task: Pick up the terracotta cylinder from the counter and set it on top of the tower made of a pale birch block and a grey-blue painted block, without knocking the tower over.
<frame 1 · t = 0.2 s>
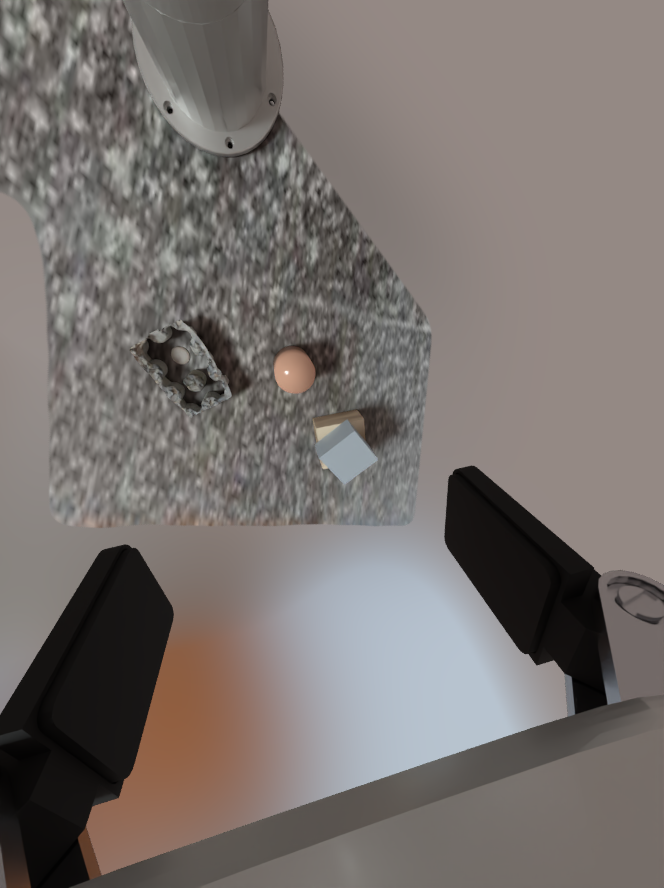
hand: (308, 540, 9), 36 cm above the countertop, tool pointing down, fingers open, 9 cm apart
tower base block: (337, 433, 49), on the countertop
tower top block: (342, 445, 46), point 4 cm above the countertop
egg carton: (191, 365, 40), on the countertop
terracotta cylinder: (291, 364, 42), on the countertop
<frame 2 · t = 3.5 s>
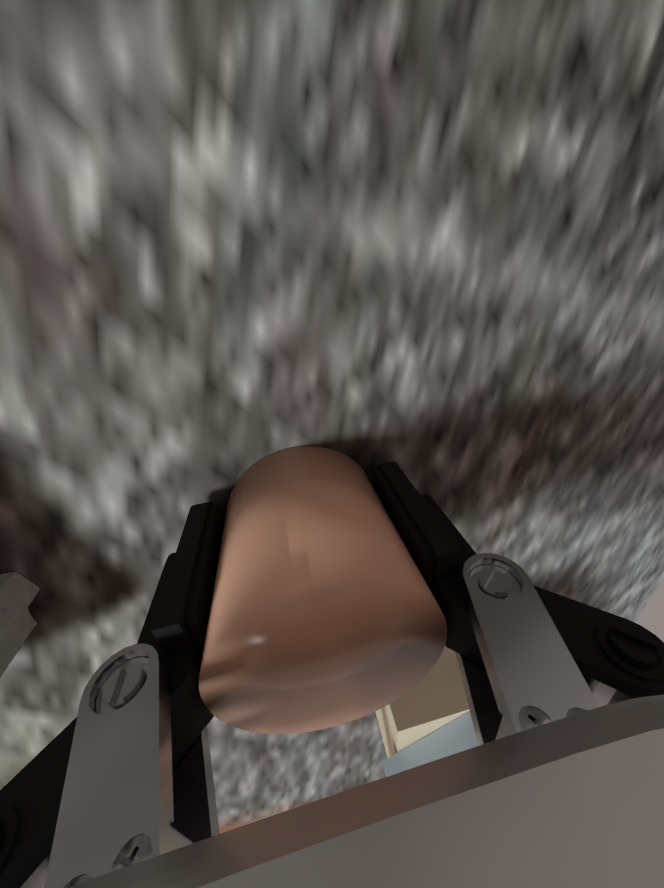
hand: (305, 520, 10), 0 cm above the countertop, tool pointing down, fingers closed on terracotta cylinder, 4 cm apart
tower base block: (429, 648, 17), on the countertop
tower top block: (472, 740, 13), point 4 cm above the countertop
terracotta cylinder: (303, 510, 11), on the countertop, touching gripper
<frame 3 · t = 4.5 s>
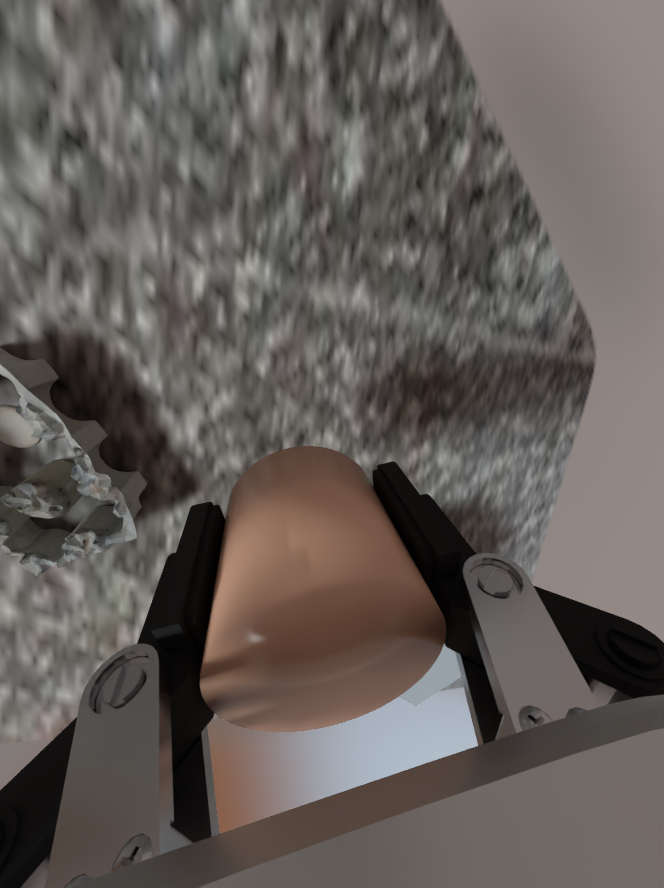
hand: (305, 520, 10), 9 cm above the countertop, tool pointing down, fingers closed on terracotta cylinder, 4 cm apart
tower top block: (403, 601, 21), point 4 cm above the countertop
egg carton: (50, 449, 17), on the countertop
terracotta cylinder: (303, 510, 11), point 8 cm above the countertop, touching gripper
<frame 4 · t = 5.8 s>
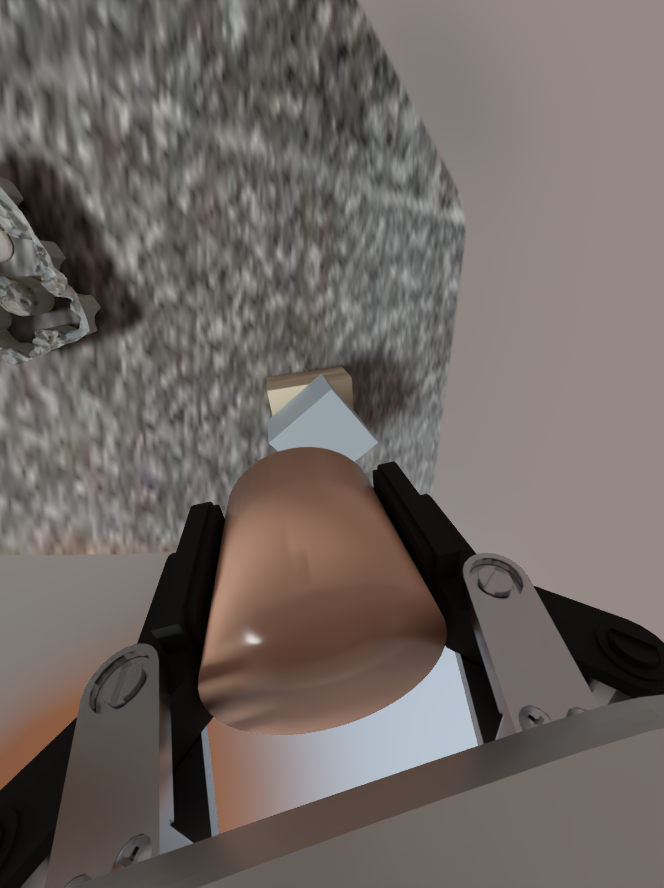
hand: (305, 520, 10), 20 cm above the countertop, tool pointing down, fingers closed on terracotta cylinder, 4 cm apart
tower base block: (309, 405, 30), on the countertop, touching tower top block
tower top block: (317, 421, 27), point 4 cm above the countertop, touching tower base block
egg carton: (21, 268, 21), on the countertop
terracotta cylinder: (303, 511, 11), point 20 cm above the countertop, touching gripper
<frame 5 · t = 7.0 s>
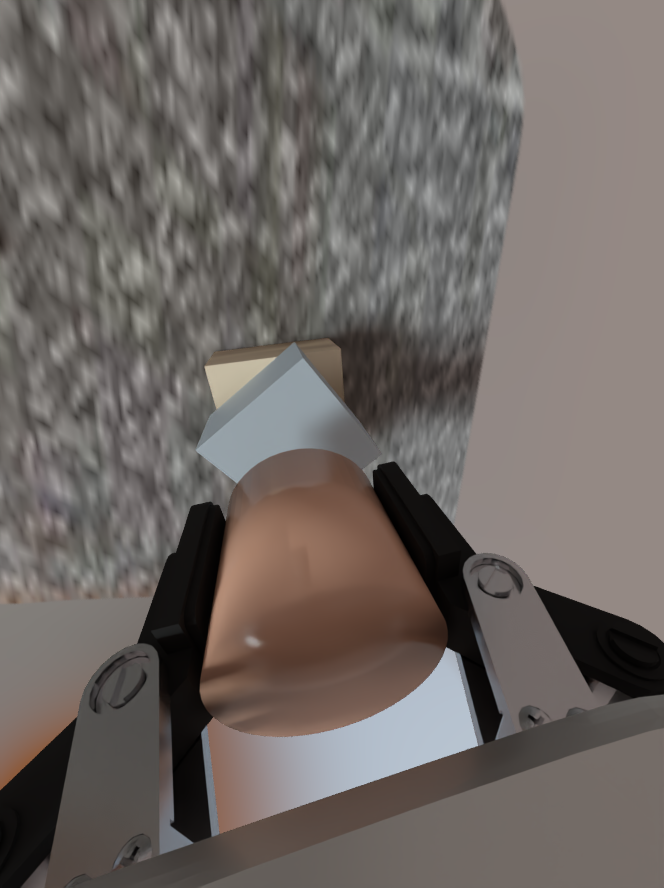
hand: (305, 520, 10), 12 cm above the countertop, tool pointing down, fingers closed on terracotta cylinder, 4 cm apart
tower base block: (281, 396, 21), on the countertop, touching tower top block
tower top block: (289, 418, 18), point 4 cm above the countertop, touching tower base block
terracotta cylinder: (303, 512, 11), point 12 cm above the countertop, touching gripper
when the fingers open (10 cm above the countertop, at t = 7.8 s): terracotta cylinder drops 1 cm, resting on tower top block.
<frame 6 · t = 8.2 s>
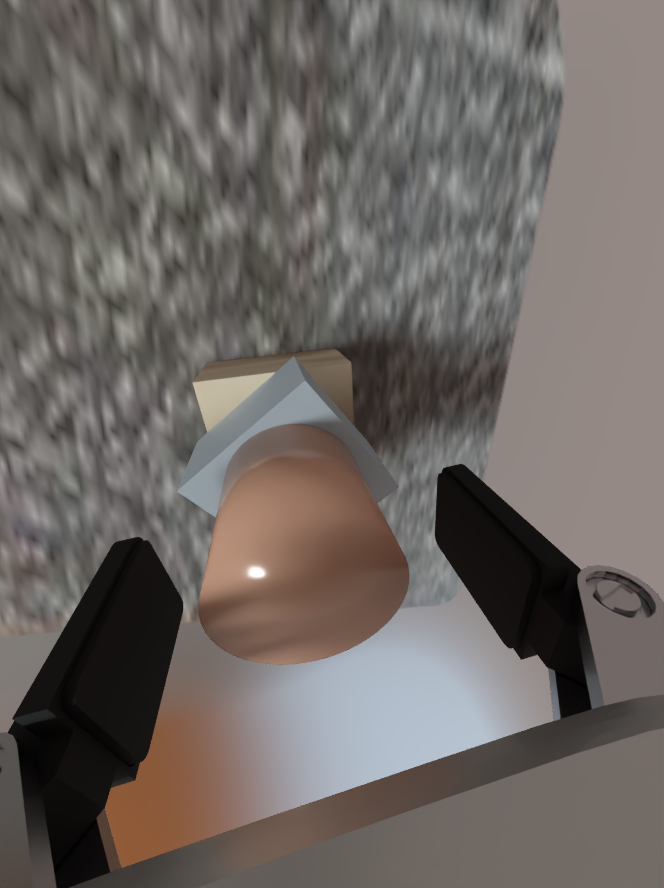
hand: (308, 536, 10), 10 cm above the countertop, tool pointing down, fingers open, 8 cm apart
tower base block: (281, 412, 19), on the countertop, touching tower top block
tower top block: (289, 442, 15), point 4 cm above the countertop, touching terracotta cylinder, tower base block
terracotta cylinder: (293, 484, 12), point 8 cm above the countertop, touching tower top block
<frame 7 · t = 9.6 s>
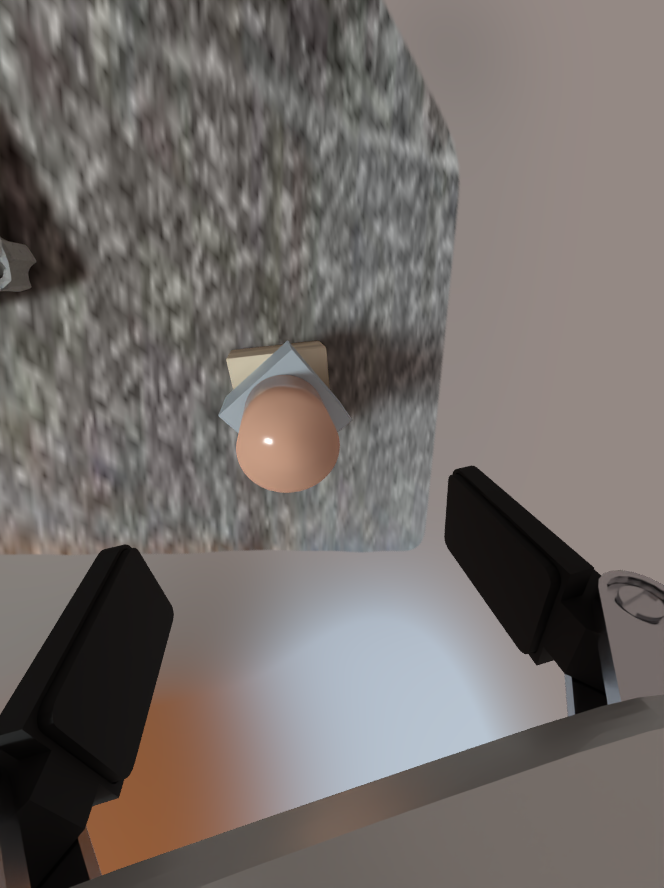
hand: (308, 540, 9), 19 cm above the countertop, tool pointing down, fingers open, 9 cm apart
tower base block: (282, 386, 27), on the countertop, touching tower top block
tower top block: (285, 399, 23), point 4 cm above the countertop, touching tower base block
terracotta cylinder: (284, 414, 19), point 8 cm above the countertop
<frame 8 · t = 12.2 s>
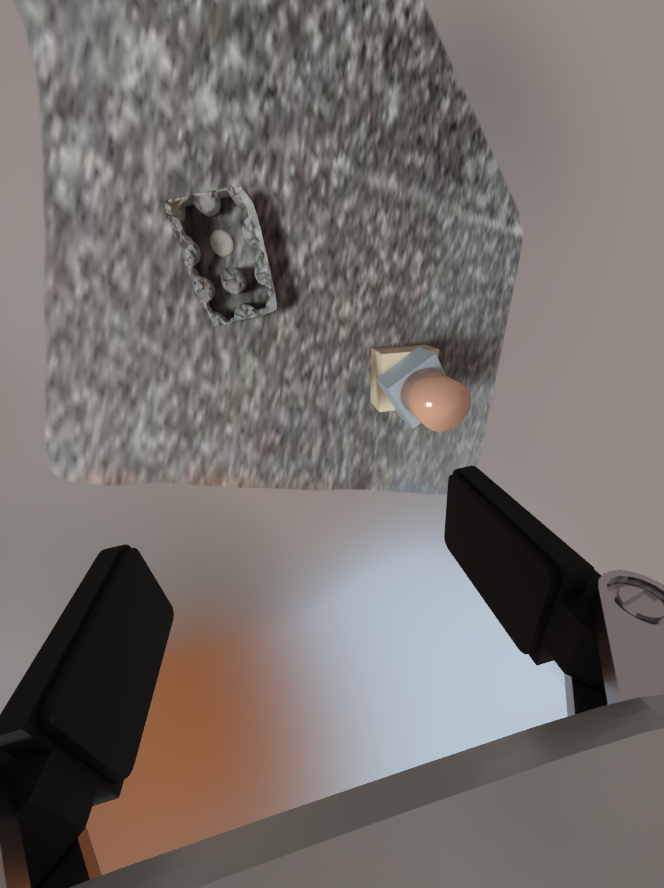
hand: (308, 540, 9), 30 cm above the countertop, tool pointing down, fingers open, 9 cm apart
tower base block: (396, 373, 40), on the countertop, touching tower top block
tower top block: (408, 382, 37), point 4 cm above the countertop, touching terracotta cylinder, tower base block
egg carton: (230, 262, 31), on the countertop
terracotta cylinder: (422, 391, 33), point 8 cm above the countertop, touching tower top block
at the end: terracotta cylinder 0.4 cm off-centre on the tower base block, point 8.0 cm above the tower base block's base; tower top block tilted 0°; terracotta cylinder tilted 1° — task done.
